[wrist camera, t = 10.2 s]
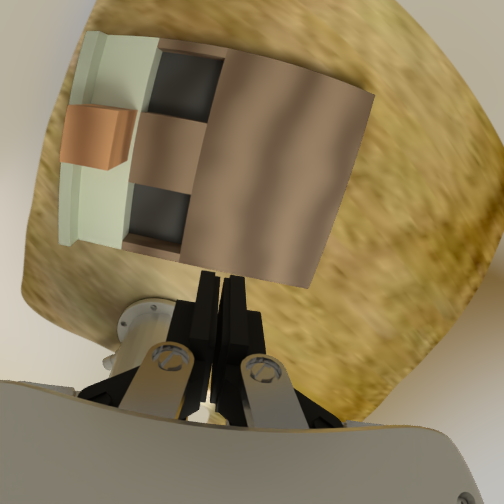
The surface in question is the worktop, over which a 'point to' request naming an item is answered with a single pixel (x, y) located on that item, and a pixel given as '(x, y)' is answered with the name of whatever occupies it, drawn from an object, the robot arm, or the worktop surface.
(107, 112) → the block
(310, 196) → the track
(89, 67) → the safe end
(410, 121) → the worktop surface
